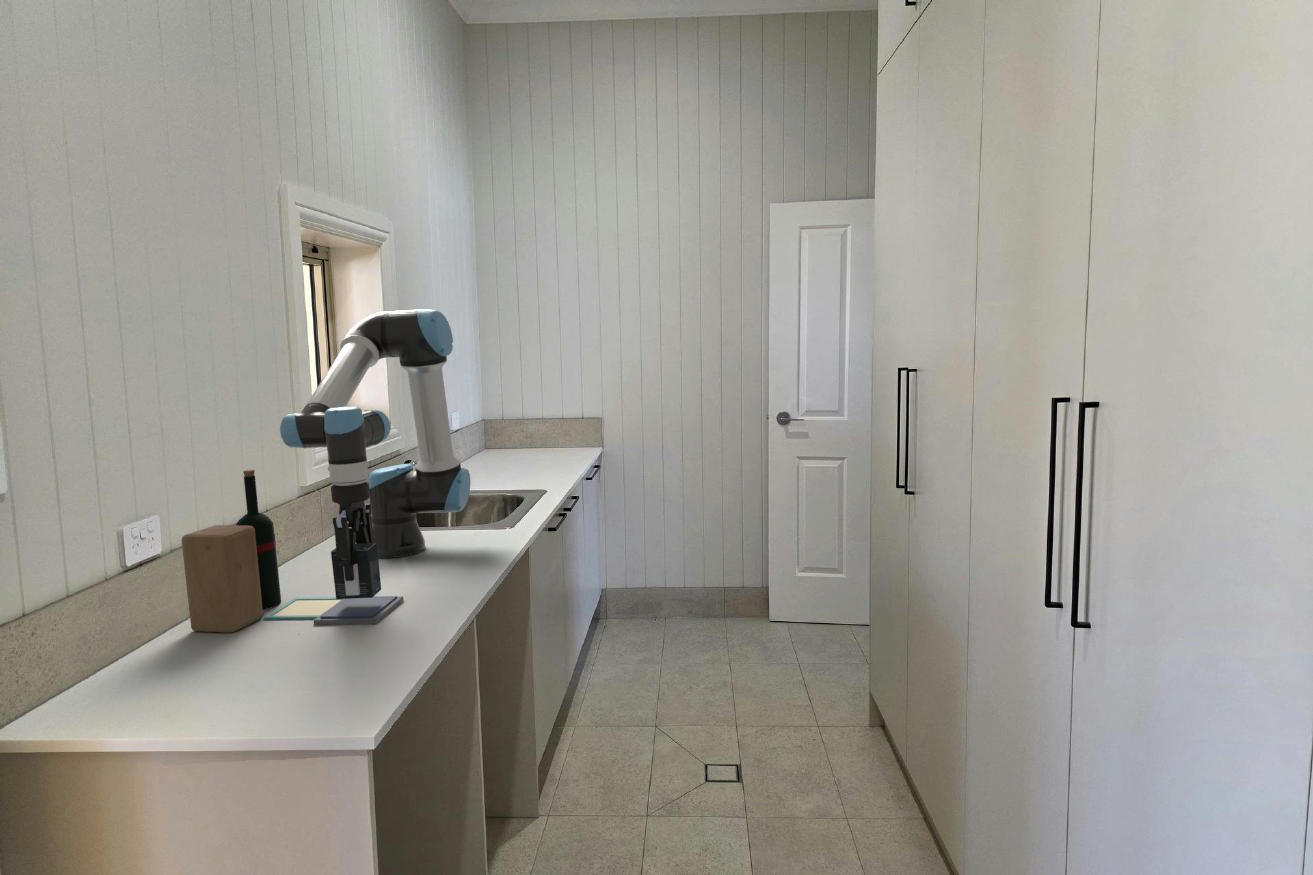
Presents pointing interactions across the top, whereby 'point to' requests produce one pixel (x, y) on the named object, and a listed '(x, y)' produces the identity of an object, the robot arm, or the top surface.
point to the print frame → (303, 608)
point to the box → (359, 572)
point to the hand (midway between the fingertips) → (359, 589)
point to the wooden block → (222, 578)
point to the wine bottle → (262, 544)
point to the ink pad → (359, 611)
